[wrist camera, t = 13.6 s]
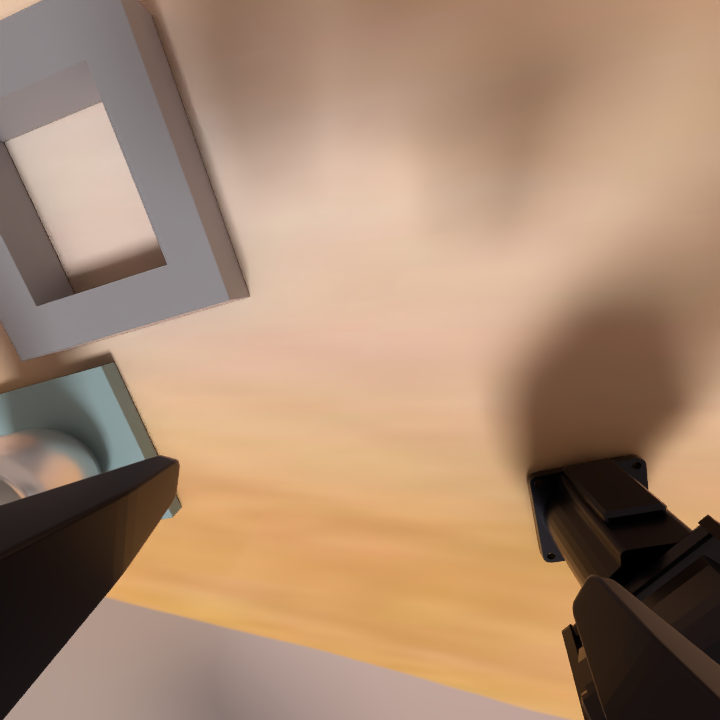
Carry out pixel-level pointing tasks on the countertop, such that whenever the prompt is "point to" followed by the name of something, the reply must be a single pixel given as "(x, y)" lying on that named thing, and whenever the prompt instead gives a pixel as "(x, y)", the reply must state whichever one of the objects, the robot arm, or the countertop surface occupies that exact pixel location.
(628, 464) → the robot arm
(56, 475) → the plastic bottle
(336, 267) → the countertop surface
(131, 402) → the coaster
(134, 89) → the pocket holder
